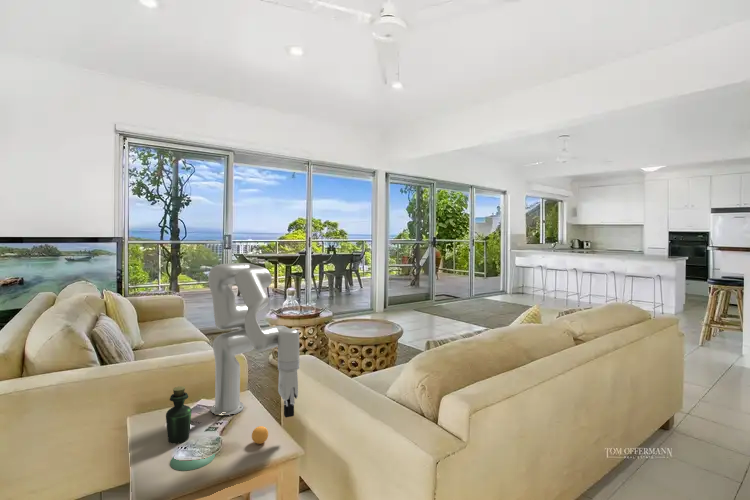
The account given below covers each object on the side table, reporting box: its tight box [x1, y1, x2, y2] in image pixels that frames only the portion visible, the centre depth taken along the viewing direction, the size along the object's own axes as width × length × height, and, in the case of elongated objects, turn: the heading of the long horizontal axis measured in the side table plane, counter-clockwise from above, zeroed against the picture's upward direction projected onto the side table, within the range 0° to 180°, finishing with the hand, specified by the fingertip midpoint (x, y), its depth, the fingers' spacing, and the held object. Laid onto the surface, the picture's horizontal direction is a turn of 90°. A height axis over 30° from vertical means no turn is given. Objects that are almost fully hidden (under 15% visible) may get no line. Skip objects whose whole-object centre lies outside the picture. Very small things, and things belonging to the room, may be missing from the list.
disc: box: [169, 453, 216, 472], centre depth 125 cm, size 13×13×1 cm
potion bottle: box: [165, 385, 193, 445], centre depth 136 cm, size 8×8×18 cm
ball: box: [251, 425, 269, 445], centre depth 135 cm, size 6×6×6 cm
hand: (289, 415), depth 139 cm, fingers closed
